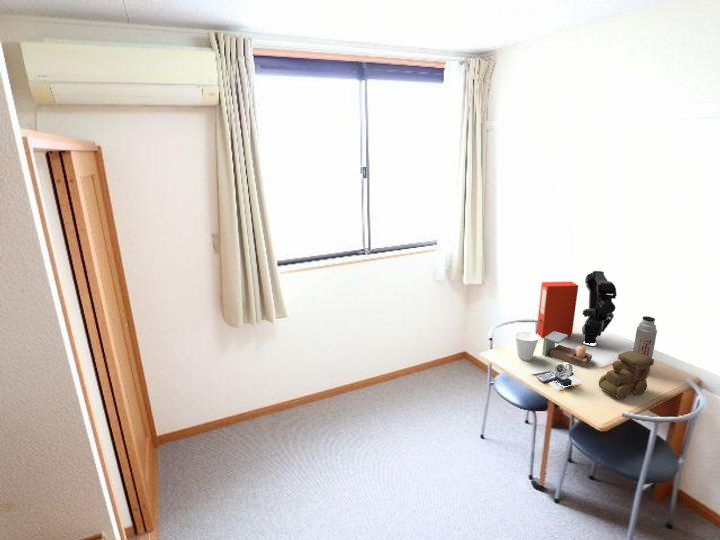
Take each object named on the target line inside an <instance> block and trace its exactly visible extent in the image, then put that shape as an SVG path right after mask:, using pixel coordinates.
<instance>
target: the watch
mask: <svg viewBox="0 0 720 540" xmlns="http://www.w3.org/2000/svg"><path fill="white" fill-rule="evenodd" d="M567 367H568V368H567ZM573 369H574V367H573V364H571V363H568V362H565V361H563V362H560V363H557V364H556V365H555V368H554V371H555V375H556V376H554V382H555V381H557V382H558V383H560V384H561V385H563V386H568V385H571V386H572V381H573V380H572V379H571V378H570V376H571V375H572V373H573Z"/></svg>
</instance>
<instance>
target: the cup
mask: <svg viewBox="0 0 720 540" xmlns="http://www.w3.org/2000/svg"><path fill="white" fill-rule="evenodd" d="M514 337H515V344H516V345H515V346H516V352H517V353H516V354H517V357H518V359H520V360H522V361H531V360H532V359H533V355H534V353H535V350H536V347H537V345H538V341H539V339H540V335H539V334H536V333H534V332H531V331H525V330H523V331H522V330H521V331H517V332H515V333H514Z"/></svg>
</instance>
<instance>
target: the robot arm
mask: <svg viewBox="0 0 720 540" xmlns="http://www.w3.org/2000/svg"><path fill="white" fill-rule="evenodd" d="M584 281H585V287H586V289H587V290H588V293H589V294H588V308H585V309H584V310H582V315H583V316H584V317H585V318H586V320H585V321H584V324H583V325H582V328H581V332H582V334H583V335H584V338H583V339H584V340H583V341H585V343H589V344H590V343H595V342H596V343H597V338H598V337H601V335H602V333H604V332H605V330H606V329H607V327H608V326H609V325H610V324H611V322H612V321H613V319H614V316H615V314H614V312H615V310H616V305H615V303H614V302H613V300H614V299H615V300H617V299H616V298H617V295H618V294H617V288H616V286H615V283H613V282H612V281H609V280H608V279H607V277H606V276H605V272H604V271H602V270H594V271H592V272H591V273H589V274H587V275H586V276H585V280H584Z"/></svg>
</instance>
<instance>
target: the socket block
mask: <svg viewBox="0 0 720 540" xmlns="http://www.w3.org/2000/svg"><path fill="white" fill-rule="evenodd" d="M576 352H577V349H574V348H571V347H569V346H565V345H562V344H557V345H555V348H553V349H552V350H551V352H549V357H550V358H554V359H556V360H559V361H563V362H567V363H569V364H571V365H575V366H577V367H581V368H583V369H584V368H585V367H587V365H589V364H590V363H591V362H592V361H591V359H593V354H591V353H587V352H585V359H582V358H579V357H576ZM590 361H591V362H590Z"/></svg>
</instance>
